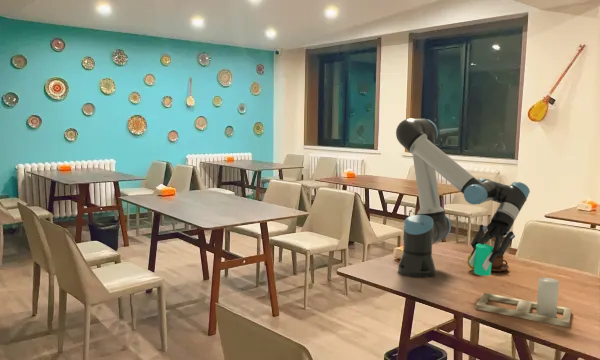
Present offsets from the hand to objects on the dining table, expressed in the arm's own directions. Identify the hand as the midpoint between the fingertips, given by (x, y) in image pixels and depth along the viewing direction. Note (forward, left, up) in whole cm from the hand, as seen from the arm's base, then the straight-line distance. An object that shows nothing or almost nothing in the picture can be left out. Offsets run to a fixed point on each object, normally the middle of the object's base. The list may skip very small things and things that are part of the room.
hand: (477, 266), depth 185 cm
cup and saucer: (0, +37, -11) cm, 39 cm away
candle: (+1, +3, -4) cm, 5 cm away
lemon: (-7, +30, -11) cm, 33 cm away
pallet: (+17, -8, -11) cm, 22 cm away
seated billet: (+24, -8, -11) cm, 27 cm away
